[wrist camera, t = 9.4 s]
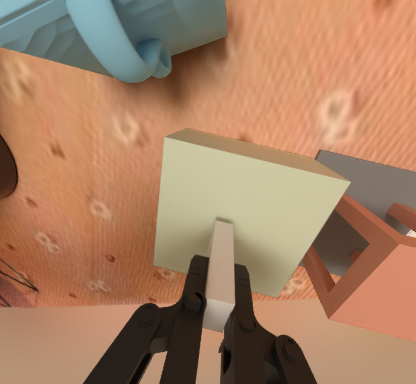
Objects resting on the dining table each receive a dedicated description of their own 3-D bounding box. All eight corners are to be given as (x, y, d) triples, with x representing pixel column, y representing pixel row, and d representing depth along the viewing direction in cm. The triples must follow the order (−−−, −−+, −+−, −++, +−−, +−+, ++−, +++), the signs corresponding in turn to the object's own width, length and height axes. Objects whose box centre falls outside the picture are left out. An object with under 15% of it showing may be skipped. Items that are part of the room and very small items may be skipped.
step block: (173, 226, 26) (152, 265, 19) (187, 127, 19) (164, 137, 13) (265, 249, 25) (277, 297, 19) (311, 157, 19) (351, 181, 13)
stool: (328, 319, 15) (430, 346, 15) (399, 243, 11) (540, 278, 11) (294, 244, 24) (359, 260, 24) (327, 186, 20) (406, 205, 20)
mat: (266, 255, 26) (267, 257, 25) (319, 149, 18) (321, 150, 18) (360, 279, 25) (362, 281, 25) (451, 180, 18) (455, 181, 18)
